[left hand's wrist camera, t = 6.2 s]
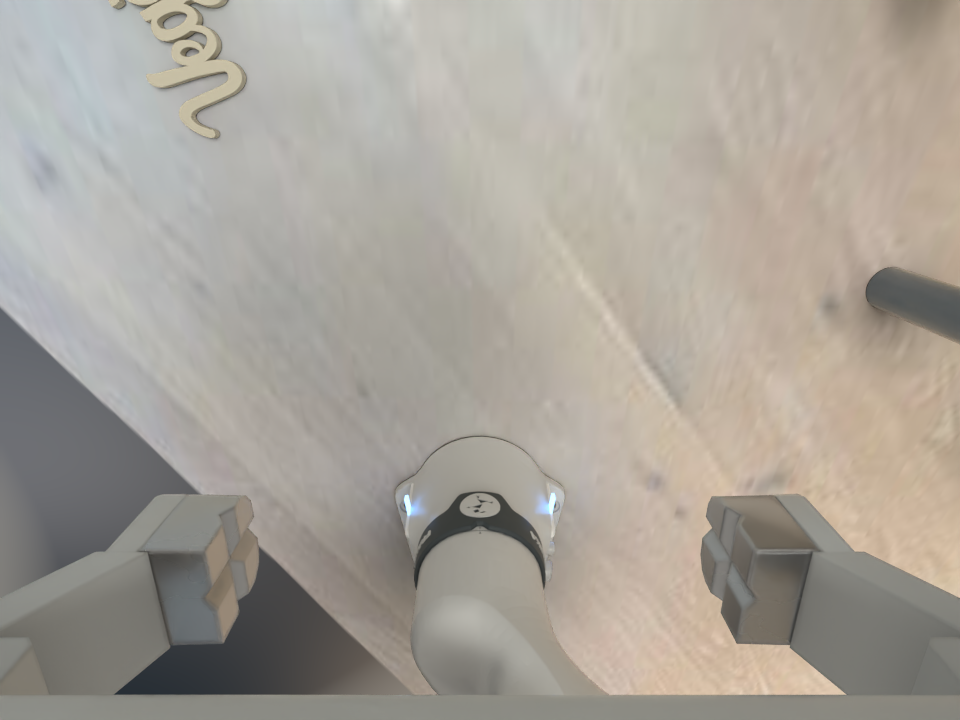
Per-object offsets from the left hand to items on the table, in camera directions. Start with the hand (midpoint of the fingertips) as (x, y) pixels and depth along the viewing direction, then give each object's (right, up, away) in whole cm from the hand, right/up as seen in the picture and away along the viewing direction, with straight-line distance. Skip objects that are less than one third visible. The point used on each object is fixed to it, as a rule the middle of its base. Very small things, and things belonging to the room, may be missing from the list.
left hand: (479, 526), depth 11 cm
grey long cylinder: (+40, +10, +48) cm, 63 cm away
